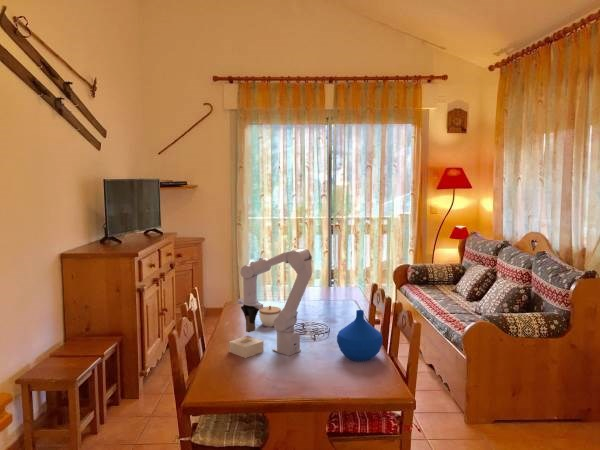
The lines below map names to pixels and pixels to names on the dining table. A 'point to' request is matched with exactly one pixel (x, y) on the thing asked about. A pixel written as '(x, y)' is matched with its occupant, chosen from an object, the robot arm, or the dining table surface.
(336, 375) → the dining table surface
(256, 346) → the cream square hole block
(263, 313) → the lidded jar
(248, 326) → the brown rectangular block
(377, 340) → the vase
